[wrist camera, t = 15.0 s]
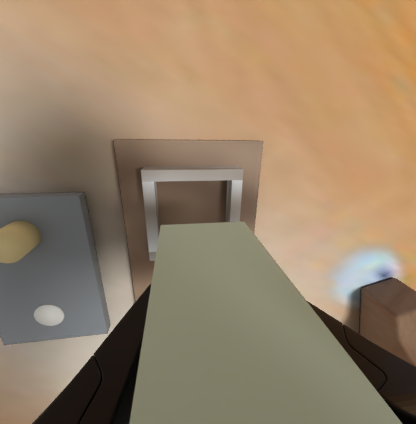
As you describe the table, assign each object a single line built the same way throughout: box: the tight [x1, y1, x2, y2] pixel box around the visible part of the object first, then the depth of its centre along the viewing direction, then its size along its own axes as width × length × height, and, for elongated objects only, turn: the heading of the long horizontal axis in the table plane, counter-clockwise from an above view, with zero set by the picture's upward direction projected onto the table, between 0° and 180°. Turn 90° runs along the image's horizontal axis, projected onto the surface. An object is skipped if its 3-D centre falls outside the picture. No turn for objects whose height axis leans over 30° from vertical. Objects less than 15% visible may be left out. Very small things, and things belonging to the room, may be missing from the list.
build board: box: [114, 139, 263, 302], centre depth 19 cm, size 22×11×2 cm, turn 0°
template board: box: [0, 192, 110, 345], centre depth 17 cm, size 14×9×3 cm, turn 0°
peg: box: [129, 222, 402, 424], centre depth 7 cm, size 4×4×8 cm
